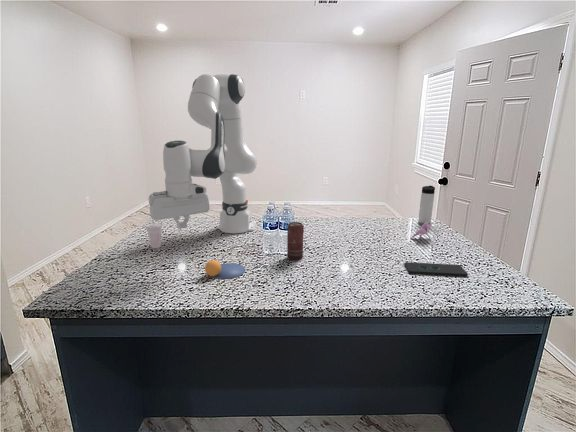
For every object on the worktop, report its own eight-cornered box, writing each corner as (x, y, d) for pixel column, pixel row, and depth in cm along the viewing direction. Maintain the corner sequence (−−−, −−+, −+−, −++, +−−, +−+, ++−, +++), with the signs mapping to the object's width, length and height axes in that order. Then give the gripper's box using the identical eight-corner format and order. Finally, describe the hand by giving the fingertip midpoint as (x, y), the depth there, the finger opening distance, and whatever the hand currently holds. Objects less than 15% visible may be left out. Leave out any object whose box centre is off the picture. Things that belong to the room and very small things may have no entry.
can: (302, 261, 130) (302, 226, 126) (285, 260, 131) (286, 225, 127) (304, 255, 136) (305, 222, 132) (289, 254, 137) (289, 221, 133)
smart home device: (404, 261, 127) (459, 264, 125) (403, 265, 128) (459, 268, 126) (409, 270, 120) (468, 273, 117) (408, 275, 120) (467, 278, 118)
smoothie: (146, 249, 140) (142, 217, 136) (149, 244, 146) (146, 213, 142) (162, 249, 141) (159, 216, 137) (165, 243, 147) (162, 212, 143)
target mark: (216, 262, 128) (216, 261, 128) (249, 265, 126) (249, 264, 126) (202, 277, 116) (202, 276, 116) (238, 280, 114) (238, 280, 114)
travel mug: (432, 223, 181) (437, 186, 176) (427, 225, 176) (432, 188, 171) (421, 220, 185) (425, 184, 180) (416, 223, 181) (420, 186, 175)
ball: (213, 276, 120) (206, 262, 120) (226, 270, 119) (219, 255, 119) (206, 280, 115) (199, 266, 115) (219, 274, 113) (212, 259, 113)
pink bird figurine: (434, 238, 160) (426, 220, 161) (447, 237, 148) (438, 216, 149) (411, 247, 159) (403, 228, 160) (422, 246, 147) (414, 226, 148)
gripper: (151, 194, 107) (155, 235, 111) (210, 187, 120) (212, 225, 123) (145, 191, 112) (149, 231, 116) (202, 185, 124) (204, 221, 128)
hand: (182, 227), depth 120 cm, fingers closed
